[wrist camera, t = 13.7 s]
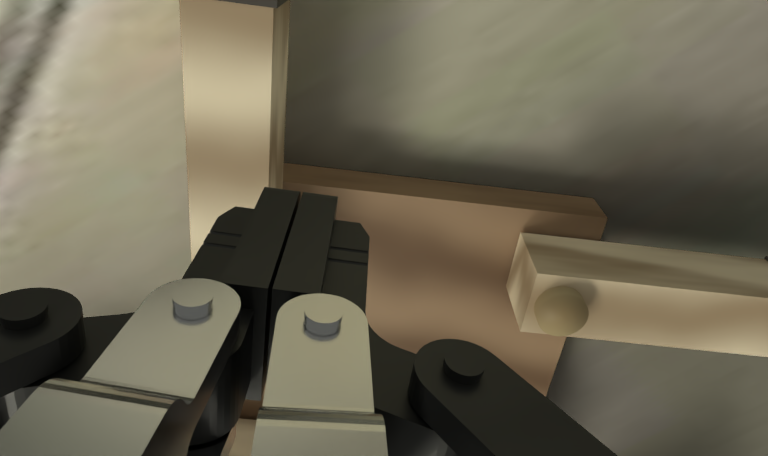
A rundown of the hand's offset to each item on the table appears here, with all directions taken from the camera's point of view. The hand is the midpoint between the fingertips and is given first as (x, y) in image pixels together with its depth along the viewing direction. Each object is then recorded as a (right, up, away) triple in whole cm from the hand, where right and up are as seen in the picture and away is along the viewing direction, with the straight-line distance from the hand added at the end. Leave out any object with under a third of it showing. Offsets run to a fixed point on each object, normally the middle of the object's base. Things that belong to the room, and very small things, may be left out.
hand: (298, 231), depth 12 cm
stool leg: (-5, +5, +16) cm, 17 cm away
